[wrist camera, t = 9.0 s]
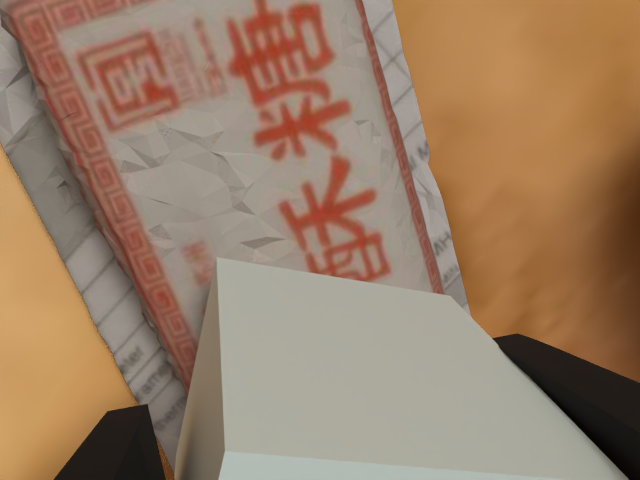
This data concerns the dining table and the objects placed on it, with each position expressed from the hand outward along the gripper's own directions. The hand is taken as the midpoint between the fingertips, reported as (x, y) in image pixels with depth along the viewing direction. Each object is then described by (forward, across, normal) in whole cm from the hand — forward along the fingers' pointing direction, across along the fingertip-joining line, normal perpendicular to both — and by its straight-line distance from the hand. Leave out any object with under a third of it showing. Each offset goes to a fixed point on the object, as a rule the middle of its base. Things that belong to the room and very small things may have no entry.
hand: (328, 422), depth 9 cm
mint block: (+1, 0, 0) cm, 1 cm away
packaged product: (+8, 0, 0) cm, 8 cm away
